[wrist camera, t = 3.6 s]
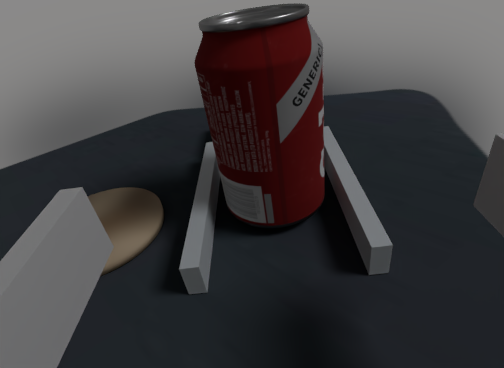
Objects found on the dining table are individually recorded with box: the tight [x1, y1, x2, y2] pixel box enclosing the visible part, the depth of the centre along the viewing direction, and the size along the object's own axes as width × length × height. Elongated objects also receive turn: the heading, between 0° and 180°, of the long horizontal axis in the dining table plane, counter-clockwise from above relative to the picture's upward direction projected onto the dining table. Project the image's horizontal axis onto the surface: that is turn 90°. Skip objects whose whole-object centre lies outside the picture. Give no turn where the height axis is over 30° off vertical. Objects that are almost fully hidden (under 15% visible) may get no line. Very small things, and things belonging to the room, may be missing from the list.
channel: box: [179, 126, 393, 294], centre depth 22 cm, size 14×10×2 cm
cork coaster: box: [88, 187, 164, 276], centre depth 22 cm, size 9×9×1 cm
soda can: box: [195, 4, 325, 228], centre depth 19 cm, size 7×7×12 cm
